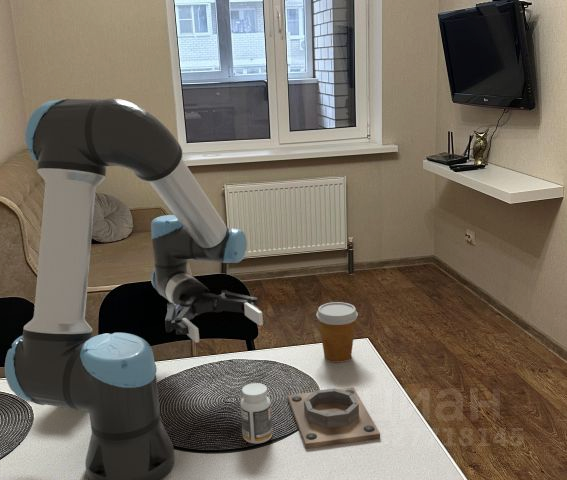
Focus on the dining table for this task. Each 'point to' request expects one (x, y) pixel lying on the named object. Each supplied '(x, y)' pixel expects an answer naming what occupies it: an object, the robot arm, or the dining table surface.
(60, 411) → the dining table surface
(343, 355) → the disposable coffee cup
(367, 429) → the socket plate
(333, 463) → the dining table surface
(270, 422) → the pill bottle
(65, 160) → the robot arm
